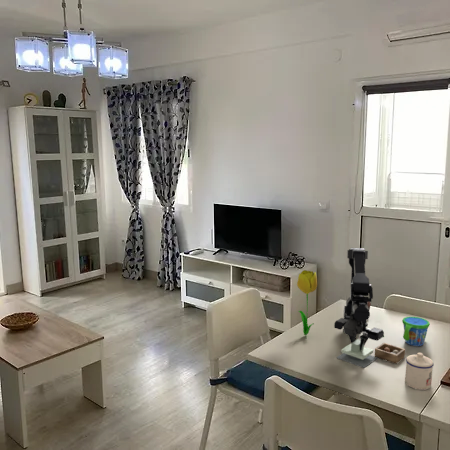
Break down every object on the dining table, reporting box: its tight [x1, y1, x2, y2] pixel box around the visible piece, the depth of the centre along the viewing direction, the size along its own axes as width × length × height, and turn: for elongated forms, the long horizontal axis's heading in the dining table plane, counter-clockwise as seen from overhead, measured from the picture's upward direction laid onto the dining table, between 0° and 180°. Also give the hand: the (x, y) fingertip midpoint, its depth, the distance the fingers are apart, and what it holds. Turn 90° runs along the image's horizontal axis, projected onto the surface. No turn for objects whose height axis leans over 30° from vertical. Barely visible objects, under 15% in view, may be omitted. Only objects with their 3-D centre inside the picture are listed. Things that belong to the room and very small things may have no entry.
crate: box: [374, 342, 406, 365], centre depth 185 cm, size 9×8×4 cm
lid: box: [341, 338, 374, 360], centre depth 184 cm, size 9×8×4 cm
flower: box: [296, 269, 318, 336], centre depth 203 cm, size 9×8×30 cm
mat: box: [336, 352, 379, 369], centre depth 184 cm, size 12×11×1 cm
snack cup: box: [401, 316, 430, 347], centre depth 197 cm, size 16×10×10 cm
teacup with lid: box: [404, 352, 434, 391], centre depth 165 cm, size 12×9×12 cm
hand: (357, 349), depth 184 cm, fingers closed on lid, 3 cm apart
